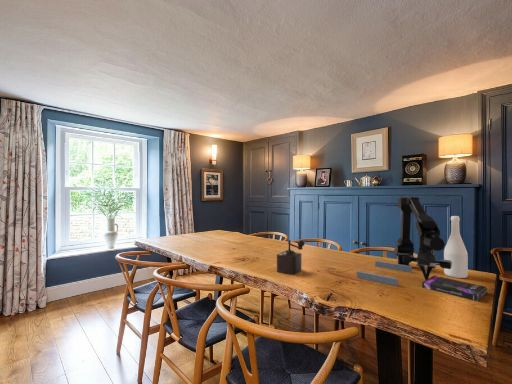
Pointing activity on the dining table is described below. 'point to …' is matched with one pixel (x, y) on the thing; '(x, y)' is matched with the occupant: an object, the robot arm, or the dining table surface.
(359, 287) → the dining table surface
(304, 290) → the dining table surface
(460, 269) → the wine bottle
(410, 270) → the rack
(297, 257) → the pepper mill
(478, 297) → the box
